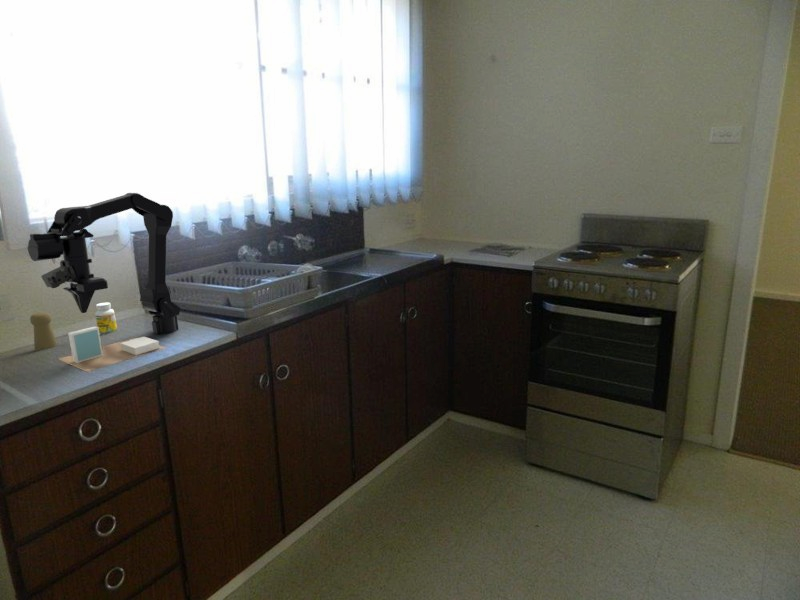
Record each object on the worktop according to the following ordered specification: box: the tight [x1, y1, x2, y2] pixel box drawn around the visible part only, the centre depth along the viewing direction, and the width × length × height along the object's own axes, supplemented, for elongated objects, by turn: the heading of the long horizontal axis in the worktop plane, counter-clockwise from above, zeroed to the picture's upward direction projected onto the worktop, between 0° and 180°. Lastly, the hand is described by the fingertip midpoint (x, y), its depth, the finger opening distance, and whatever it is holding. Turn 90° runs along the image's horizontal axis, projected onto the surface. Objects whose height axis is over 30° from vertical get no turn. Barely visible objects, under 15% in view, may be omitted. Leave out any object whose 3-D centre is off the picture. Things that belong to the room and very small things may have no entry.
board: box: [57, 337, 167, 373], centre depth 162 cm, size 22×17×1 cm
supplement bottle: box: [95, 301, 118, 335], centre depth 183 cm, size 5×5×10 cm
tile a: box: [120, 336, 161, 355], centre depth 164 cm, size 7×2×8 cm
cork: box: [29, 311, 58, 352], centre depth 169 cm, size 6×6×11 cm
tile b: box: [67, 325, 103, 363], centre depth 157 cm, size 7×2×8 cm, turn 142°
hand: (83, 312), depth 159 cm, fingers closed
